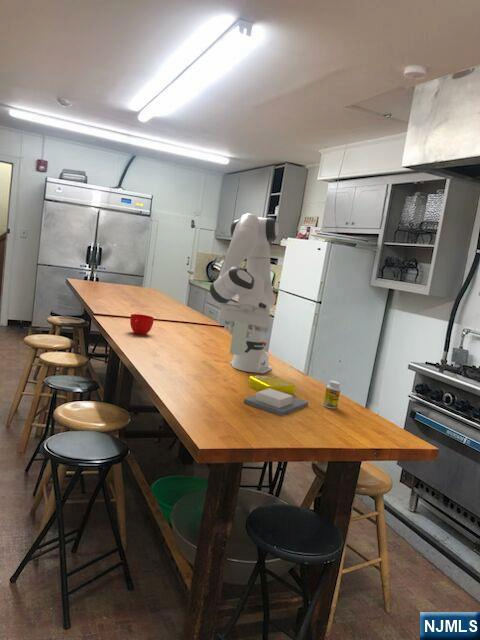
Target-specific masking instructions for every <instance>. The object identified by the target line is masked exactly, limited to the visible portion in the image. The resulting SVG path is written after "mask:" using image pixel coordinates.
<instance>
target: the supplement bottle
mask: <svg viewBox="0 0 480 640" xmlns="http://www.w3.org/2000/svg"><path fill="white" fill-rule="evenodd" d="M340 394H341V388H340V382H338V381H336V380H330V381H329V383H328V385H327V386H326V388H325V393H324V397H323V402H322V405H323V406H324V407H325V408H327V409H337V408H338V404H339V399H340Z"/></svg>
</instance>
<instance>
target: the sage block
mask: <svg viewBox="0 0 480 640" xmlns="http://www.w3.org/2000/svg"><path fill="white" fill-rule="evenodd" d="M232 329H233V335H232V336H231V342H230V347H229V355H234V354H235V355H240V356H243V355H244V353H245V347H246V341H247V337H246V335H247V332H248V330H249V323H246V322H241V321H235V323H234V326H233V328H232Z"/></svg>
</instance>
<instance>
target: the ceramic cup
mask: <svg viewBox="0 0 480 640" xmlns="http://www.w3.org/2000/svg"><path fill="white" fill-rule="evenodd" d="M129 318H130V327H131V330H132V332H133V333H134V334H135V335H139V334H140V336H146V335H147V334H148V333H149V332H150V331H151V330H152V327H153V325H154V320H155V318H154V317H153V316H150V315H146V314H139V313H131V314H130V317H129Z"/></svg>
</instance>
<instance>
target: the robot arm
mask: <svg viewBox="0 0 480 640" xmlns="http://www.w3.org/2000/svg"><path fill="white" fill-rule="evenodd" d="M279 227H280V226H279V223H278V221H277V220H276V218H274V217H258V216H256V215H255V214H253V213H245V214H242V215H241V216H240V217H239V219H235V220H234V221H233V222H232V223H231V225H230V236H231V240H230V243H229V245H228V249H227V252H226V255H225V257H224V259H223V261H222V263H221V267H220V269H219V272H218V274H217V277H216V279H215V280H214V281H213V282H212V283H211V284H210V286H209V292H210V295H211V297H212V299H213V300H214V301H215V302H217V303H220V304H221V305H220V308H219V312H218V315H217V323H218V324H219V325H223V326H228V328H229V335H233V329H234V323H235V321H241V322H246V323H249V330H248V332H247V335H246V337H247V341H246V347H245V353H244V355H243V356H240V355H235V354H233V356H232V357H233V358H232V360H231V361H230V362H229V364H230V365H231V366H232V368H234V369H236V370H240V371H243V372H249V373H257V374H265V373H267V372H269V371H271V370H273V367H272V366H270V365H269V358H270V357H269V355H268V354H267V352H266V351H265V350H264V349H265V347H266V346H267V344H268V342H267V341H264V338H265V337H264V336H265V333H267V332H269V331H270V325H271V314H270V313H271V311H270V310H271V309H272V307H275V303H276V295H275V293H274V289H273V284H272V277H271V247H270V245H272V243H274V242H275V241H276V239H277V238H278V236H279V231H280V228H279ZM245 260H246V269H244V268H242V267H239V266H240V265H241V264H242V263H243V262H244V261H245ZM237 296H238V299H237V303H236V304H231V303H230V304H229V302H230V301H231V300H232V299H233V298H234V297H237Z"/></svg>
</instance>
